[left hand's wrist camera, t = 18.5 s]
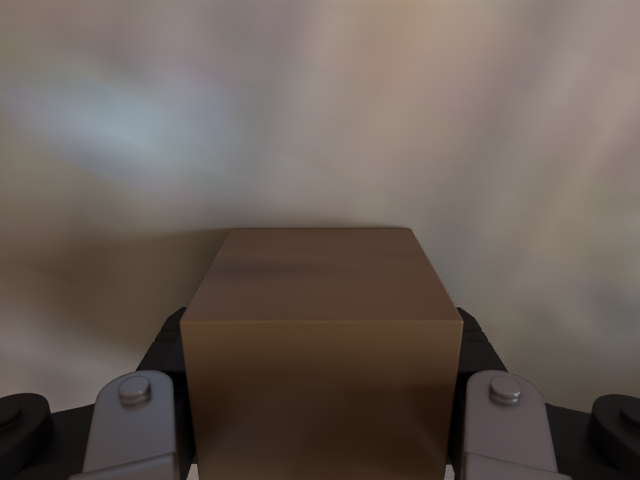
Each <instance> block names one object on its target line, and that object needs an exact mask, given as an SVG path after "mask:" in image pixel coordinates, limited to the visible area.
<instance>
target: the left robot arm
mask: <svg viewBox="0 0 640 480" xmlns="http://www.w3.org/2000/svg"><path fill="white" fill-rule="evenodd" d="M186 309H187V307H182V308H181V309H179V310H178V311H177V312H175V313H174V314H172V315H171V316H169V317H168V319H167V320H166V322H165V324H164V325H163V327H162V328H161V332H159V333H158V335H157V337H156V338H155V342H153V343H152V345H151V346H150V348H149V350H148V351H147V353H146V355H145V356H144V358H143V359H142V361H141V363H140V364H139V366H138V368H137V369H136V371H135V372H131V373H128V374H125V375H122V376H120V377H118V378H116V379H114V380H112V381H111V382H109V383H108V384H107V385H106V386H104V387H103V388H102V390H101V391H100V392H99V394H98V395H97V398H96V401H95V403H94V404H91V405H88V406H84V407H79V408H74V409H70V410H65V411H60V412H56V413H51V411H50V407H49V403H48V401H47V399H46V398H45V397H43V396H41V395H38V394H33V393H21V394H14V395H9V396H6V397H2V398H0V480H186V479H187V476H188V473H189V470H190V467H191V464H197V459H196V451H195V443H194V435H193V427H192V419H191V411H190V403H189V395H188V387H187V379H186V371H185V363H184V355H183V347H182V339H181V331H180V323H179V322H180V319H181V318H182V316H183V314H184V312H185V311H186ZM456 309H457V310H458V312H459V314H460V316H461V317H462V319H463V331H462V339H461V347H460V355H459V363H458V371H457V379H456V387H455V395H454V404H453V412H452V420H451V428H450V436H449V444H448V452H447V460H446V465H452V467H453V470H454V473H455V476H454V480H640V399H639V398H635V397H631V396H626V395H618V394H610V395H604V396H601V397H599V398H598V399H596V400H595V402H594V404H593V407H592V411H591V414H589V413H585V412H580V411H575V410H571V409H566V408H561V407H557V406H553V405H550V404H547V403H545V401H544V398H543V395H542V394H541V392H540V391H539V390H538V388H537V387H536V386H534V385H533V384H532V383H531V382H529V381H528V380H526V379H524V378H522V377H520V376H518V375H515V374H512V373H509V372H508V371H507V369H506V368H505V366H504V365H503V363H502V361H501V360H500V358H499V357H498V355H497V353H496V352H495V350H494V348H493V347H492V345H491V344H490V342H488V339H487V337H486V336H485V334H484V332H482V329H481V328H480V326H479V324H478V323H477V321H476V320H475V318H474V317H473V316H471V315H470V314H468V313H467V312H466V311H464V310H463V309H461V308H456Z"/></svg>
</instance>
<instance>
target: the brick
mask: <svg viewBox="0 0 640 480" xmlns="http://www.w3.org/2000/svg"><path fill="white" fill-rule="evenodd" d="M179 323H180V331H181V339H182V347H183V355H184V363H185V371H186V379H187V387H188V395H189V403H190V411H191V419H192V427H193V435H194V443H195V451H196V459H197V467H198V475H199V480H444V477H445V468H446V460H447V452H448V444H449V436H450V428H451V420H452V412H453V404H454V395H455V387H456V379H457V371H458V363H459V355H460V347H461V339H462V331H463V319H462V317H461V316H460V314H459V312H458V310H457V309H456V307H455V305H454V303H453V302H452V300H451V298H450V296H449V295H448V293H447V291H446V289H445V288H444V286H443V284H442V282H441V281H440V279H439V277H438V275H437V274H436V272H435V270H434V268H433V267H432V265H431V263H430V261H429V260H428V258H427V256H426V254H425V253H424V251H423V249H422V247H421V246H420V244H419V242H418V240H417V239H416V237H415V235H414V233H413V232H412V230H411V229H231V230H230V232H229V233H228V235H227V237H226V239H225V241H224V242H223V244H222V246H221V248H220V250H219V251H218V253H217V255H216V257H215V259H214V260H213V262H212V264H211V266H210V268H209V269H208V271H207V273H206V275H205V276H204V278H203V280H202V282H201V284H200V285H199V287H198V289H197V291H196V293H195V294H194V296H193V298H192V300H191V302H190V303H189V305H188V307H187V309H186V311H185V312H184V314H183V316H182V318H181V319H180V322H179Z"/></svg>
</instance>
